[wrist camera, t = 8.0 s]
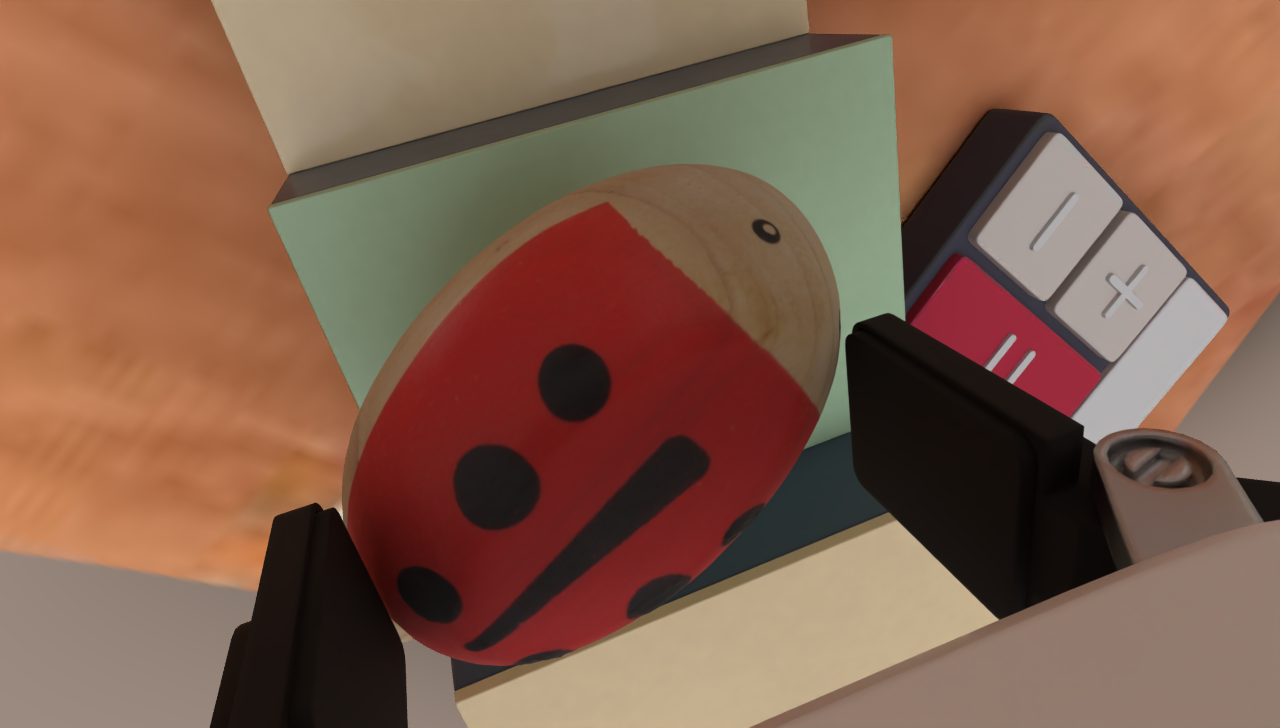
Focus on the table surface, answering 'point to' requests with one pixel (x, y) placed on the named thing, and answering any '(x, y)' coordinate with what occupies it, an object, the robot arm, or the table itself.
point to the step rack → (555, 166)
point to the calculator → (1053, 276)
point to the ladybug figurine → (591, 412)
